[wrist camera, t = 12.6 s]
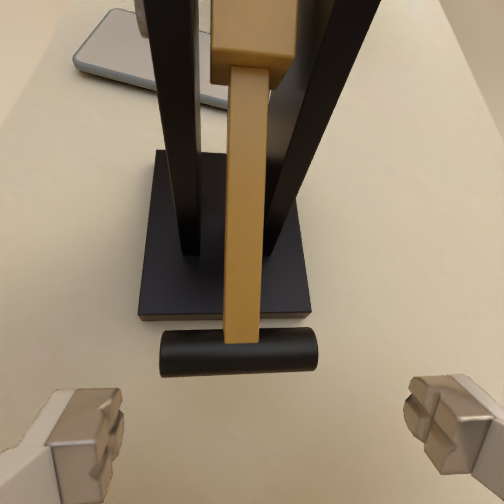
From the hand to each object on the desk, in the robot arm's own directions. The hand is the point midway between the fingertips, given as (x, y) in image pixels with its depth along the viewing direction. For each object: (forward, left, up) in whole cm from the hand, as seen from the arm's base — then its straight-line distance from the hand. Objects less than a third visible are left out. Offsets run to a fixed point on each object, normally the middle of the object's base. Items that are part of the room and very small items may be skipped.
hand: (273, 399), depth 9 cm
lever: (+5, +4, +1) cm, 7 cm away
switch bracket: (+7, +6, -7) cm, 12 cm away
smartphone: (+18, +18, -7) cm, 27 cm away
